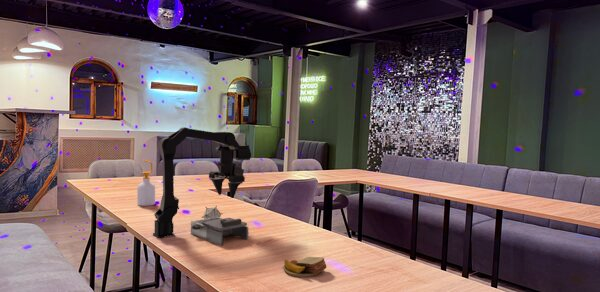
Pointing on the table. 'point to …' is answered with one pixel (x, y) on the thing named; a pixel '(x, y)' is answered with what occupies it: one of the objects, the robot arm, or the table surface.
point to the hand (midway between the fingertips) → (226, 196)
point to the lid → (224, 224)
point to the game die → (211, 213)
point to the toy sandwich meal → (305, 266)
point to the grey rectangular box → (216, 231)
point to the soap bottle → (146, 190)
